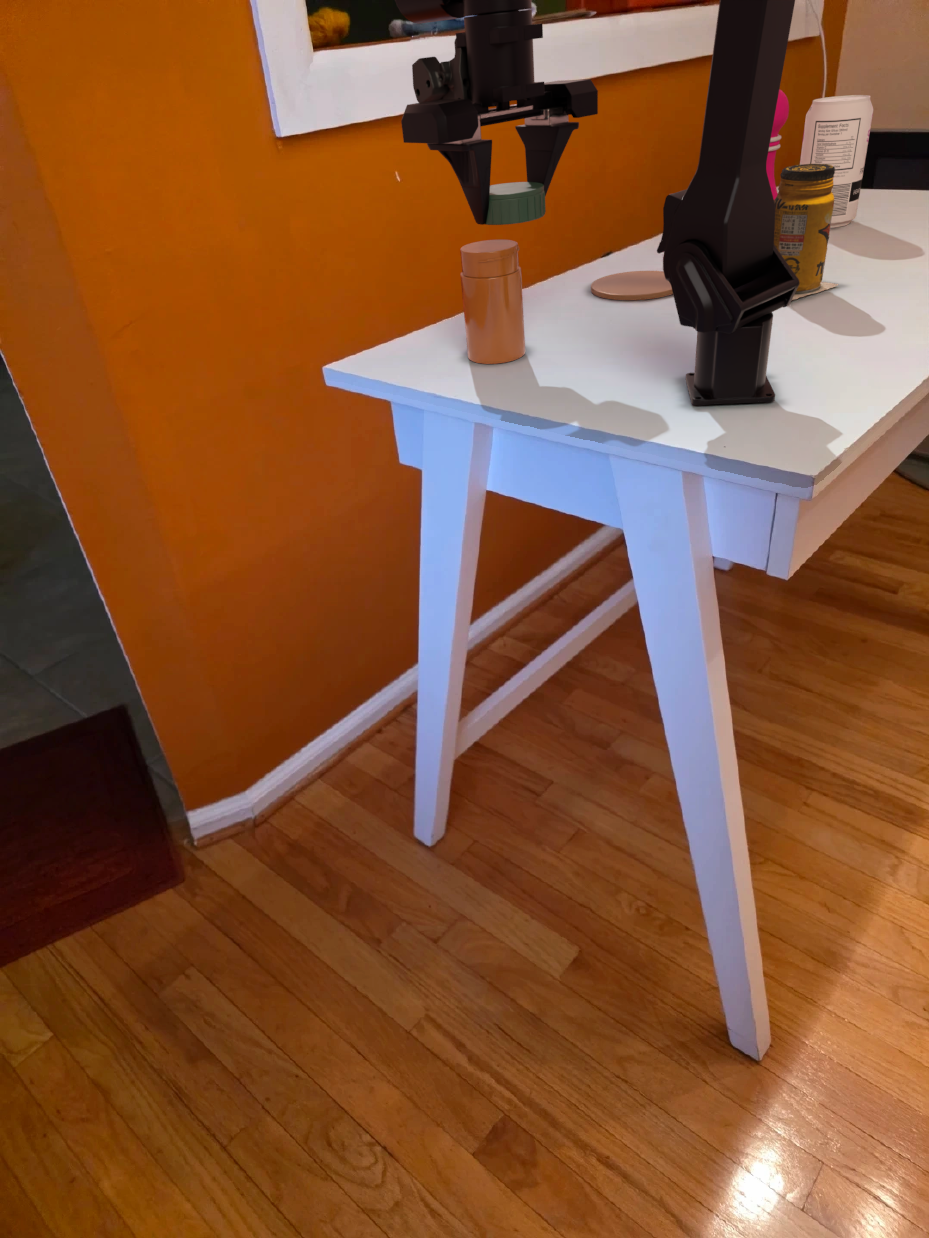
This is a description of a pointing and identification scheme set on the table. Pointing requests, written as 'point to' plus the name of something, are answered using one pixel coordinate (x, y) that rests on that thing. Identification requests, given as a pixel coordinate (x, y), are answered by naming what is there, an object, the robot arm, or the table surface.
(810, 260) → the condiment
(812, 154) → the supplement can
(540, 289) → the table surface
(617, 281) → the coaster
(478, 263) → the jam jar
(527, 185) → the jam lid
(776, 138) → the pink bowling pin
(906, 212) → the table surface
